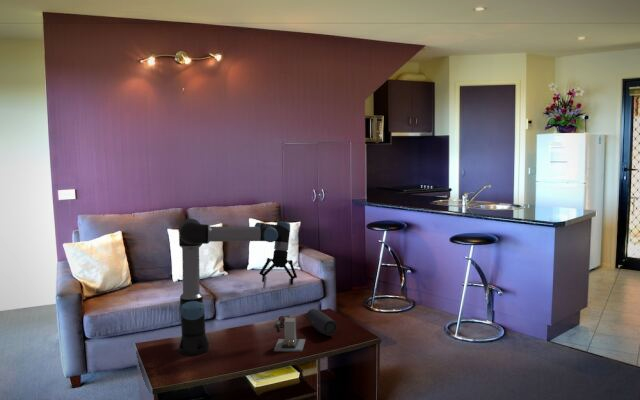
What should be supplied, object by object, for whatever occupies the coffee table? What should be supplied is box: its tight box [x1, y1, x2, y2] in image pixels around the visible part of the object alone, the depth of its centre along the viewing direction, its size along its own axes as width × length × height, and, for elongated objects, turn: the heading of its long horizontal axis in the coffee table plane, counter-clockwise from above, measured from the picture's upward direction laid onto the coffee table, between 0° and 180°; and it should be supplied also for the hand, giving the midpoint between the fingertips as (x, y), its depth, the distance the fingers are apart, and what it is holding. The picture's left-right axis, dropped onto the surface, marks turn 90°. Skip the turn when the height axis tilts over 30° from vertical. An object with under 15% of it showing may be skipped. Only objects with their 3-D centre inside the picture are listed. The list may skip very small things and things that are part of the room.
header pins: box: [281, 340, 296, 348], centre depth 262 cm, size 7×2×4 cm, turn 85°
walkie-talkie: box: [276, 315, 291, 332], centre depth 298 cm, size 9×4×20 cm
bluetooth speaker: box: [305, 308, 338, 336], centre depth 287 cm, size 23×9×10 cm, turn 25°
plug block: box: [283, 317, 297, 345], centre depth 268 cm, size 5×6×12 cm
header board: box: [273, 338, 306, 352], centre depth 267 cm, size 14×14×1 cm
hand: (276, 289), depth 281 cm, fingers open, 13 cm apart
